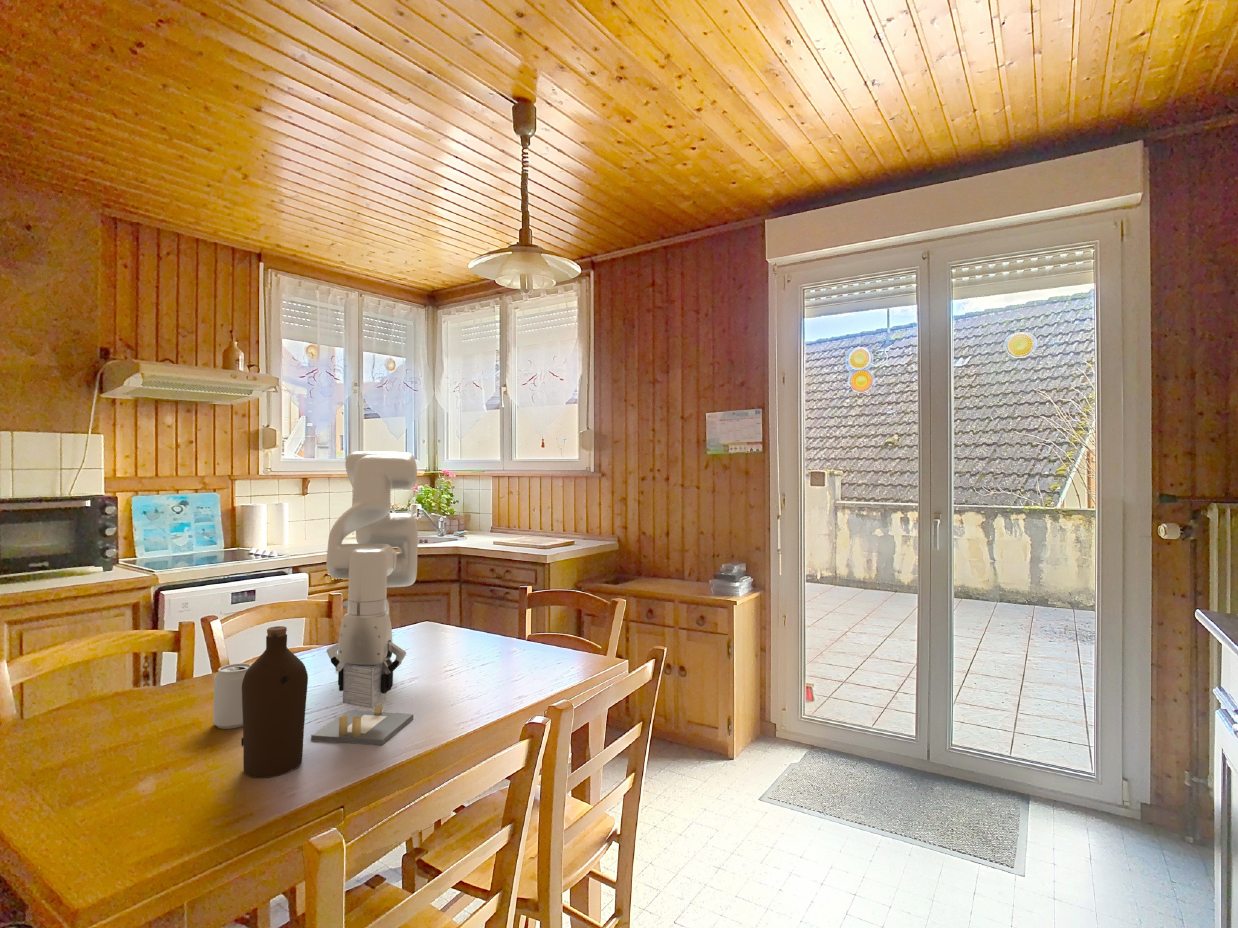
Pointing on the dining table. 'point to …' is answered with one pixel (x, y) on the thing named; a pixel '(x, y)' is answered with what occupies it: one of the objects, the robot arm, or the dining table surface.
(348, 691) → the medicine box
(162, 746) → the dining table surface
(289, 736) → the olive oil
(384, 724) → the pin board
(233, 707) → the can
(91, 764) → the dining table surface
